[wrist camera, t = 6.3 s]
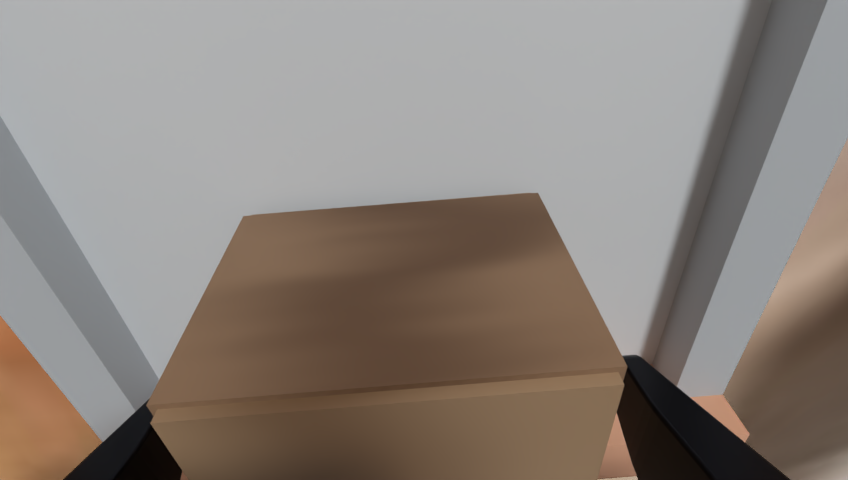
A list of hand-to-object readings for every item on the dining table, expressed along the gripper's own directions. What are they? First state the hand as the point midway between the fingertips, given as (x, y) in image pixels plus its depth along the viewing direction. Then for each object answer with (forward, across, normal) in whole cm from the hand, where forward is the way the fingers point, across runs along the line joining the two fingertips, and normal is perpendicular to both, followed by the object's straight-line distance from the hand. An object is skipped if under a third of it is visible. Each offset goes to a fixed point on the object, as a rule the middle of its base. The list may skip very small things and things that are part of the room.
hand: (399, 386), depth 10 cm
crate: (+3, 0, 0) cm, 3 cm away
